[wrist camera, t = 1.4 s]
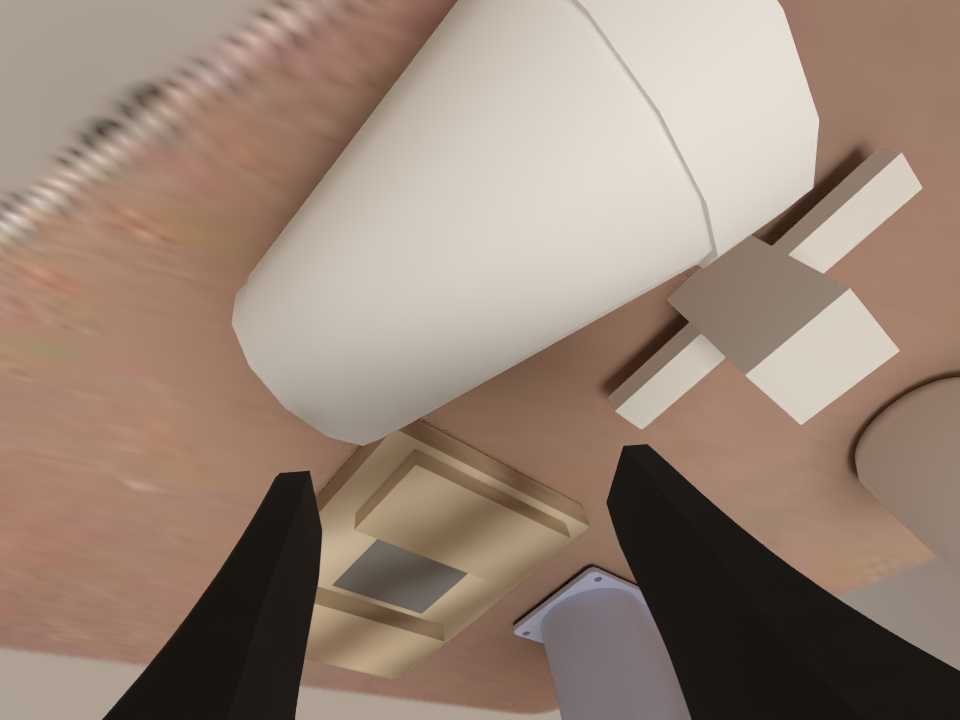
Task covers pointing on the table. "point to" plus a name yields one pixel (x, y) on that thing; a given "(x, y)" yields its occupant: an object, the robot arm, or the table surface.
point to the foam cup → (524, 197)
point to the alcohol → (918, 465)
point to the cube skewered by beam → (781, 307)
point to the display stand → (424, 547)
